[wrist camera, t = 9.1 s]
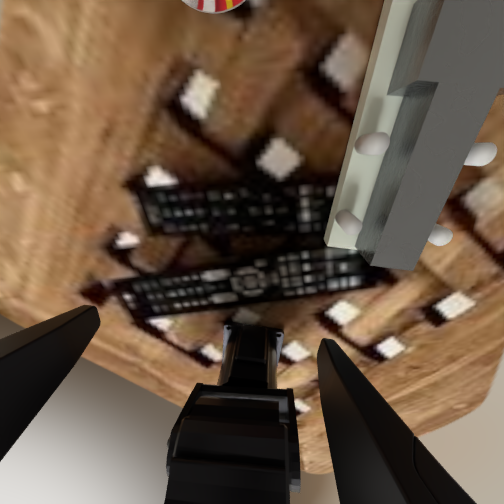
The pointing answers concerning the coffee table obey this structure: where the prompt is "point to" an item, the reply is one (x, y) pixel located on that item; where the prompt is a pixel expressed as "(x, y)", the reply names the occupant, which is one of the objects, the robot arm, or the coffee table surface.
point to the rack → (378, 134)
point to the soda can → (213, 5)
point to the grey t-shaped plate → (432, 122)
